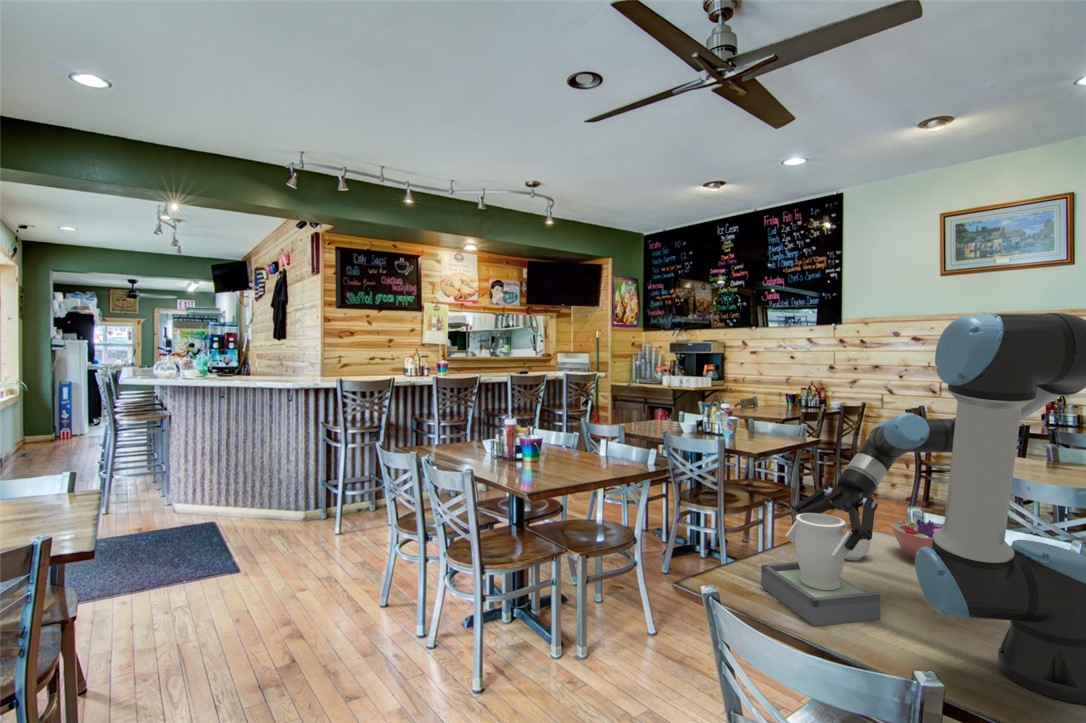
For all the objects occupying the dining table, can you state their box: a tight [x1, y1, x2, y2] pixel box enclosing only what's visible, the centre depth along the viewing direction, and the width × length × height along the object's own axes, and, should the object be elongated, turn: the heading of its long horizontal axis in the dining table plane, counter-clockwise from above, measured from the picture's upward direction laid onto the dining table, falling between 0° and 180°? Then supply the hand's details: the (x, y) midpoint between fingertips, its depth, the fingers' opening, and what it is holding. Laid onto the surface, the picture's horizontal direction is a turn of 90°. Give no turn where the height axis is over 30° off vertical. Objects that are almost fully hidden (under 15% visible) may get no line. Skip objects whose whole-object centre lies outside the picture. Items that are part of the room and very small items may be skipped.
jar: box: [794, 513, 846, 590], centre depth 131 cm, size 11×10×15 cm
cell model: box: [890, 518, 944, 559], centre depth 156 cm, size 17×20×11 cm
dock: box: [760, 561, 882, 627], centre depth 132 cm, size 20×16×6 cm
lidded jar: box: [843, 522, 871, 561], centre depth 160 cm, size 11×11×9 cm
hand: (811, 548), depth 131 cm, fingers open, 13 cm apart
